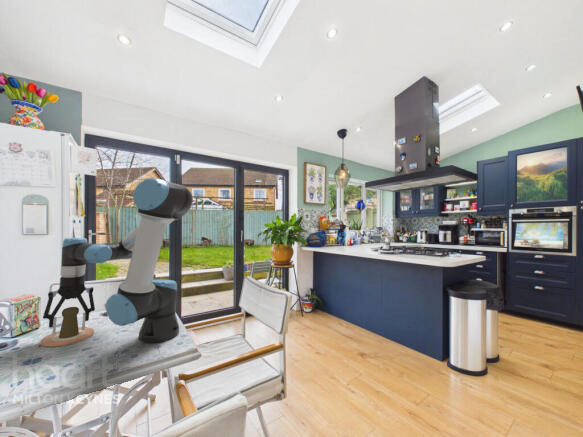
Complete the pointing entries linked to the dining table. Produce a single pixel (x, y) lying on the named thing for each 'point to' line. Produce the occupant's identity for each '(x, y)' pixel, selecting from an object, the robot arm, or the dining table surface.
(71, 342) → the dish
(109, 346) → the dining table surface
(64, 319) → the cork
